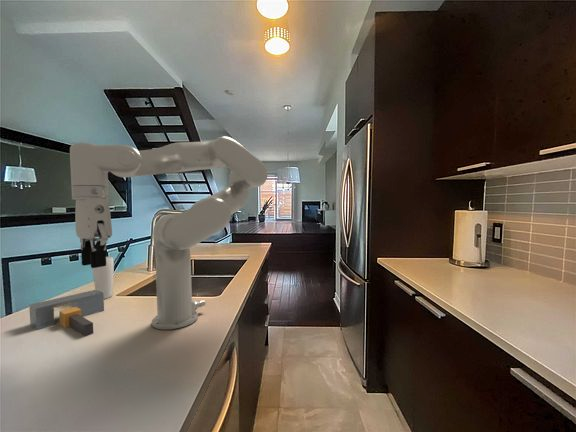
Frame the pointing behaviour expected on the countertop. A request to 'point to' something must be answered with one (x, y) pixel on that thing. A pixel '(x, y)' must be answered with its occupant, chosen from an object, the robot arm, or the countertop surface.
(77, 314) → the plug
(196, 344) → the countertop surface
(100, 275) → the drinking glass
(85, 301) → the housing
